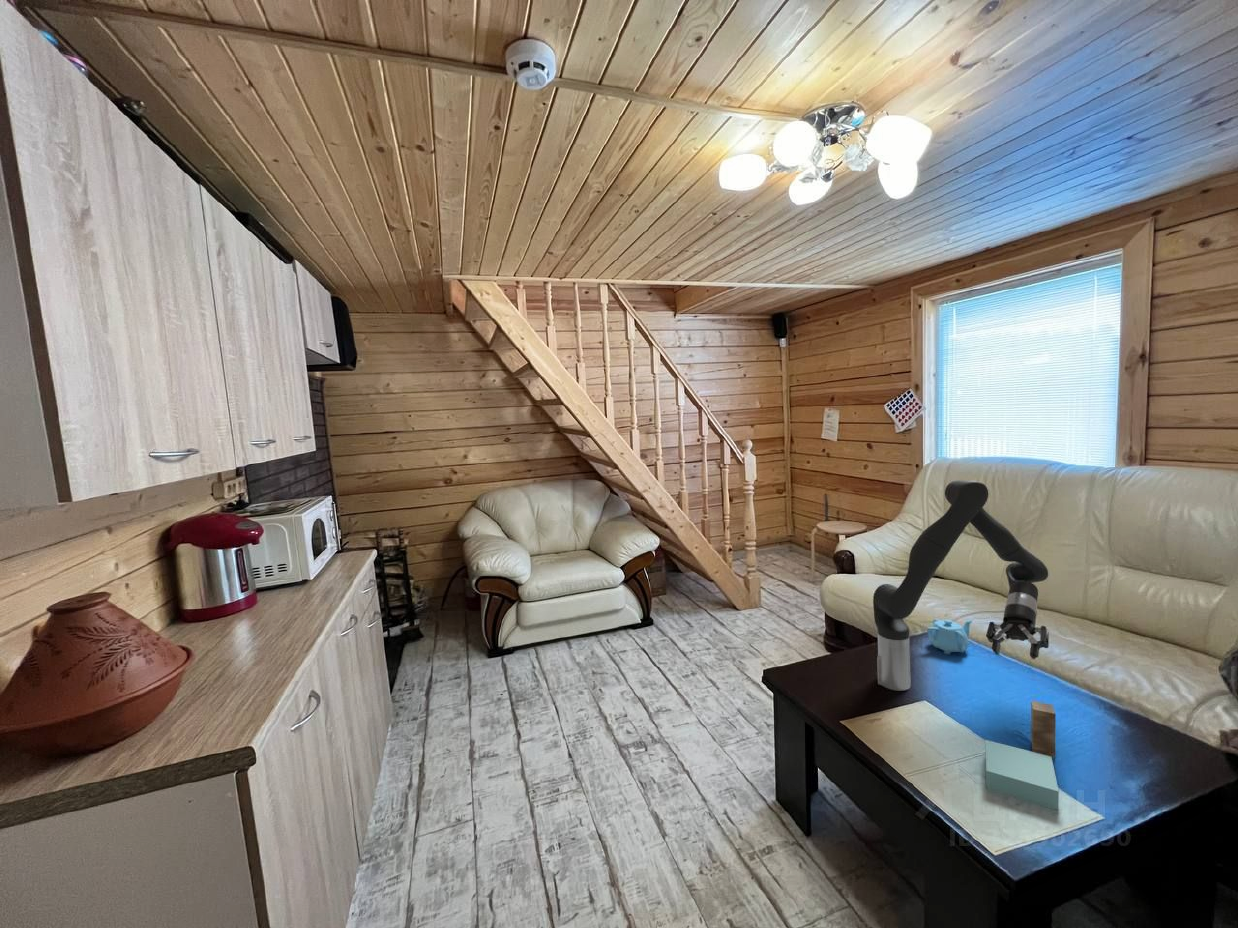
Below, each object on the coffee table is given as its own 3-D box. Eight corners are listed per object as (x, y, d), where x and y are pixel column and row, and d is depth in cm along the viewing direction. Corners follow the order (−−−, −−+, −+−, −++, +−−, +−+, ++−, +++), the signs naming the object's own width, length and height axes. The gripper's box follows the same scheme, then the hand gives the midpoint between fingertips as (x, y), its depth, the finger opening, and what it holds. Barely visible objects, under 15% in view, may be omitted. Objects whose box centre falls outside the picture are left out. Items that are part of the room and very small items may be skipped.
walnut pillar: (1033, 752, 129) (1033, 709, 128) (1031, 742, 133) (1031, 700, 132) (1055, 758, 127) (1055, 713, 126) (1052, 747, 130) (1052, 704, 129)
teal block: (986, 789, 119) (986, 770, 118) (985, 757, 129) (985, 739, 129) (1058, 811, 111) (1058, 791, 111) (1051, 775, 122) (1051, 756, 121)
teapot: (924, 651, 185) (923, 623, 184) (934, 635, 195) (934, 609, 194) (965, 661, 176) (964, 632, 175) (973, 644, 186) (973, 616, 185)
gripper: (988, 601, 155) (980, 643, 147) (1046, 604, 144) (1041, 649, 135) (997, 617, 158) (989, 660, 149) (1054, 621, 146) (1050, 667, 137)
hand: (1014, 655), depth 142 cm, fingers open, 8 cm apart
